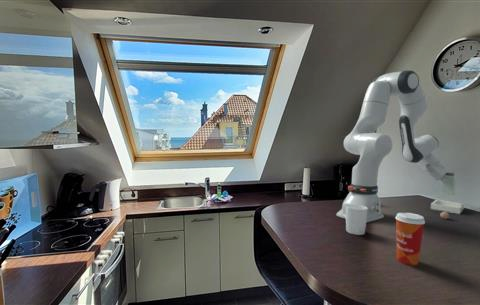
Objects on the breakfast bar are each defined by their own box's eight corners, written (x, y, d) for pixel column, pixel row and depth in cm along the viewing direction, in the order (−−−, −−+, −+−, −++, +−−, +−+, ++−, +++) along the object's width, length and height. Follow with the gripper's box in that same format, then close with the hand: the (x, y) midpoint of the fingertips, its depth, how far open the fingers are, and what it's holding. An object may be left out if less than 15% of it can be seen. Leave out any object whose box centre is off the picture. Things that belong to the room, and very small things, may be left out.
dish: (459, 214, 134) (460, 208, 133) (430, 209, 142) (431, 203, 142) (463, 209, 143) (464, 203, 143) (436, 204, 152) (436, 199, 152)
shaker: (453, 195, 139) (454, 173, 138) (442, 194, 142) (444, 172, 141) (454, 194, 142) (456, 173, 141) (444, 192, 145) (445, 172, 145)
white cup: (365, 230, 109) (366, 205, 108) (367, 236, 101) (369, 210, 100) (344, 227, 111) (345, 203, 110) (344, 233, 104) (346, 208, 103)
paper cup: (387, 255, 86) (389, 211, 85) (410, 255, 86) (413, 211, 85) (404, 267, 78) (407, 219, 77) (429, 267, 79) (432, 219, 78)
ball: (448, 220, 124) (448, 213, 123) (439, 218, 126) (439, 211, 126) (449, 218, 126) (449, 212, 126) (440, 217, 128) (441, 210, 128)
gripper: (430, 161, 139) (453, 182, 132) (438, 158, 153) (459, 178, 147) (419, 169, 142) (441, 190, 136) (428, 166, 156) (448, 185, 150)
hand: (450, 184), depth 141 cm, fingers closed on shaker, 4 cm apart
